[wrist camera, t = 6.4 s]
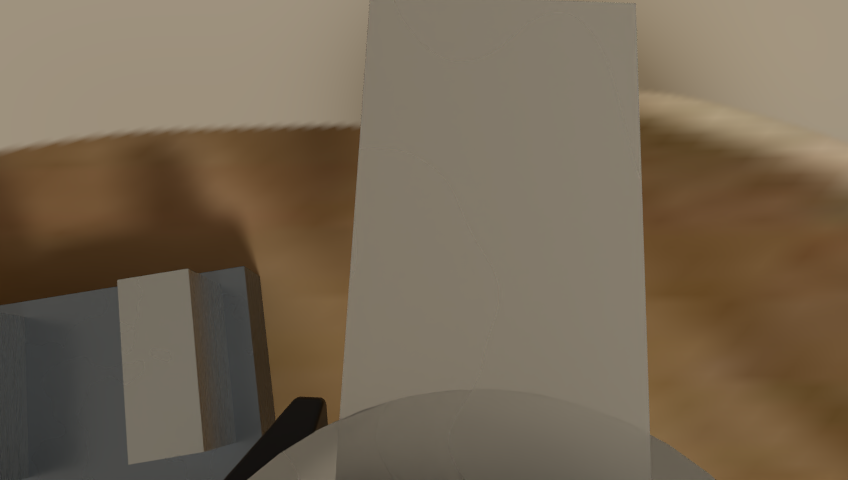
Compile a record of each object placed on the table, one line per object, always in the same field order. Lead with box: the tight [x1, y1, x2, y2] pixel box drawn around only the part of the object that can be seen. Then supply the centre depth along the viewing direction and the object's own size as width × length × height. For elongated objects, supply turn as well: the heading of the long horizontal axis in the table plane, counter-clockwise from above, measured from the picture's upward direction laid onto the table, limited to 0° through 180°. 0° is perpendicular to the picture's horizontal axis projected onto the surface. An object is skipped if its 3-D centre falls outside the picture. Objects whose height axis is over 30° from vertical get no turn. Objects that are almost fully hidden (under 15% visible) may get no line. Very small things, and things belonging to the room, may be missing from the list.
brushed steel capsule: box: [247, 0, 715, 480], centre depth 9 cm, size 6×4×12 cm, turn 177°
